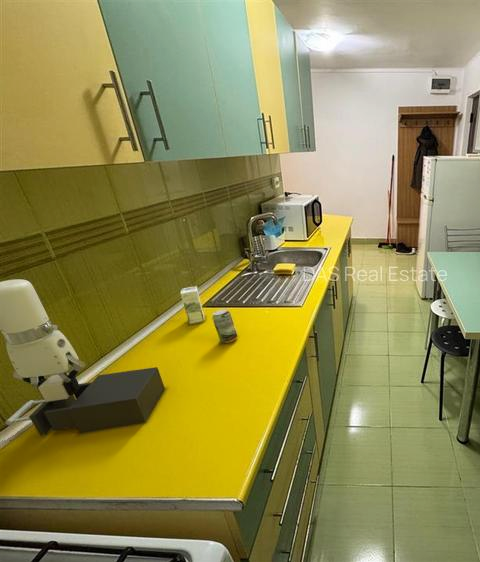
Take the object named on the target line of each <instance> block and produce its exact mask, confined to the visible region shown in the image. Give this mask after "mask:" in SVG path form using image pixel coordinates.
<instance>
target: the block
mask: <svg viewBox="0 0 480 562" xmlns="http://www.w3.org/2000/svg"><path fill="white" fill-rule="evenodd" d="M66 374H67V375H69V373H68V372H66ZM46 379H47V380H46V381H45V382H44V383H43V384H41V385H40V386H39V387H38V388H37V390H38V389H39V390H38V392H39V391H40V392H41V394H42V395H41V394H40V395H41V397H42V396H43V397H42V399H43V398H44V399H43V400H45V401H46V402H49V401H55V400H62V399H67V398H68V397H69V395H68V393H67V391H66V389H65V387H64V386H63V383H64V382H65V381H64V380H63V379H62V378H61V377H60V376H59V375H58V374H52V375H50V376H49V377H48V378H46ZM40 392H39V393H40Z"/></svg>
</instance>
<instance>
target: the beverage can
mask: <svg viewBox="0 0 480 562" xmlns="http://www.w3.org/2000/svg"><path fill="white" fill-rule="evenodd" d="M211 319H212V323H213V324H214V327H215V330H216V333H217V336H218V338H219V339H218V340H219V342H220V343H224V344H227V343H231V342H233V341H235V340H236V338H237V337H238V333H237V329H236V327H235V323H234V321H233V317H232V314H231V312H230V311H229V310H228V309H227V308H224V309H223V308H222V309H219V310H216V311H214V312H213V313H212V317H211Z"/></svg>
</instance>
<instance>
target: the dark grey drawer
mask: <svg viewBox="0 0 480 562" xmlns="http://www.w3.org/2000/svg"><path fill="white" fill-rule="evenodd" d="M92 382H93V381H90V382H83V383H79V386H80V388H79V389H78V390H77V391H76V392H75V393H74V394H73V395H71V396H69V397H68V398H67V399H62V400H55V401H49V402H46V401H45V400H44V399H40V400H34V399H29V400H30V401H29V400H28V401H29V402H28V401H26V403H25V404H23V406H21V407H20V408H19V409H18V410H17V411H16V412H14V413H13V414H12V415H11V416H10V417H9V418H8V419H7V420H5V422H4V424H5V425H6V426H12V425H13V424H15V423H21V422H27V421H31V423H32V425H33V427H34V428H35V430H36V431H37V433H38V435H39V436H47V434H48V433H49V432H50V431H51V430H53V431H59V430H66V429H71V428H77V427H76V425H75V423H74V421H73V419H72V417H71V416H70V414H69V411H68V410H67V409H68V408H69V407H70V406H71V404H72V403H73V402H74V401H75V400H76V399H77V398H78V397H79V396H80V395H81V394H82V393H83V391H84V390H85V389H86V388H87V387H88V386H89V385H90V384H91V383H92ZM39 404H40V405H39ZM34 405H39V406H38V407H37V408H36V409H35V410H34V411H32V413H31V414H30V415H29V416H26V417H25V416H24V417H22V416H23V415H24V414H25V413H26V412H27V411H28V410H29V409H30V408H32V407H33V406H34Z"/></svg>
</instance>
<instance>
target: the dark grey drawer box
mask: <svg viewBox="0 0 480 562" xmlns="http://www.w3.org/2000/svg"><path fill="white" fill-rule="evenodd" d="M160 373H161V372H160V370H159V368H158V366H155V367H148V368H141V369H133V370H126V371H120V372H119V371H118V372H111V373H104V374H99V375H97V377H96V378H94V379H93V381H91V382H92V383H91V384H90V385H89V386H88V387H87V388H86V389H85V390H84V391H83V393H82V394H81V395H80V396H79V397H78V398H77V399H76V398H75V399H76V400H75V401H74V402H73V403H72V404H71V406H70V407H69V408H68V409H67V410H68V411H69V414H70V416H71V417H72V419H73V421H74V423H75V425H76V427H75V428H76V429H77V431H78V433H79V434H80V435H82V434H86V433H93V432H98V431H104V430H110V429H116V428H122V427H128V426H133V425H139V424H144V423H145V424H146V423H147V422H148V419H149V418H150V416H151V415H152V413H153V412H154V409H155V407H156V406H157V404H158V402H159V401H160V399H161V397H162V395H163V394H164V392H165V390H166V388H165V385H164V382H163V379H162V376H161V374H160Z"/></svg>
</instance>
